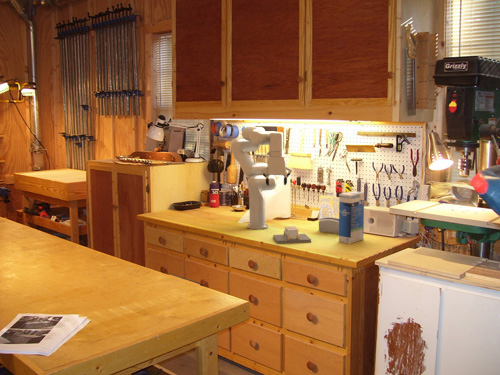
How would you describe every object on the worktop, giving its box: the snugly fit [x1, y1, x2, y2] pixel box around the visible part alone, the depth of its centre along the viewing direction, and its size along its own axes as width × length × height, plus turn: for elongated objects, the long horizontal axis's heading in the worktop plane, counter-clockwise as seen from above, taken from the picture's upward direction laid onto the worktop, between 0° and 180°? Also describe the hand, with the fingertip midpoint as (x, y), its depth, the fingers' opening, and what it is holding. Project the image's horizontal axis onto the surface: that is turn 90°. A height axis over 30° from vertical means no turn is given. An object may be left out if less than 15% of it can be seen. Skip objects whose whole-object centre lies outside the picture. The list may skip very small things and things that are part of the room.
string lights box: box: [338, 190, 365, 245], centre depth 271 cm, size 13×8×26 cm, turn 135°
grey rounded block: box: [318, 216, 339, 234], centre depth 293 cm, size 17×5×10 cm, turn 58°
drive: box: [284, 226, 299, 239], centre depth 275 cm, size 9×6×5 cm, turn 6°
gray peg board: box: [272, 229, 312, 245], centre depth 275 cm, size 14×18×4 cm
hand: (276, 185), depth 284 cm, fingers open, 9 cm apart
